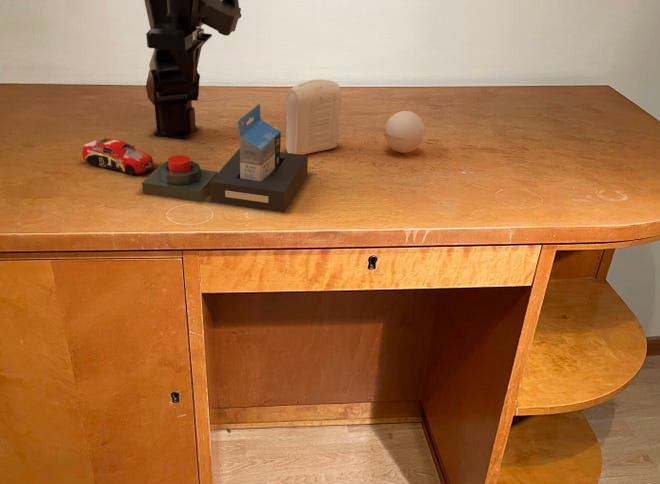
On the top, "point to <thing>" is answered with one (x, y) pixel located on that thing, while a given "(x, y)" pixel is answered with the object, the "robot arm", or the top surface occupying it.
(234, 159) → the dark grey rectangular frame
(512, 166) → the top surface
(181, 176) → the button box
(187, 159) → the button
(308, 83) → the cream rounded slab
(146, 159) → the race car
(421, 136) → the seamed sphere
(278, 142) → the tape cartridge
